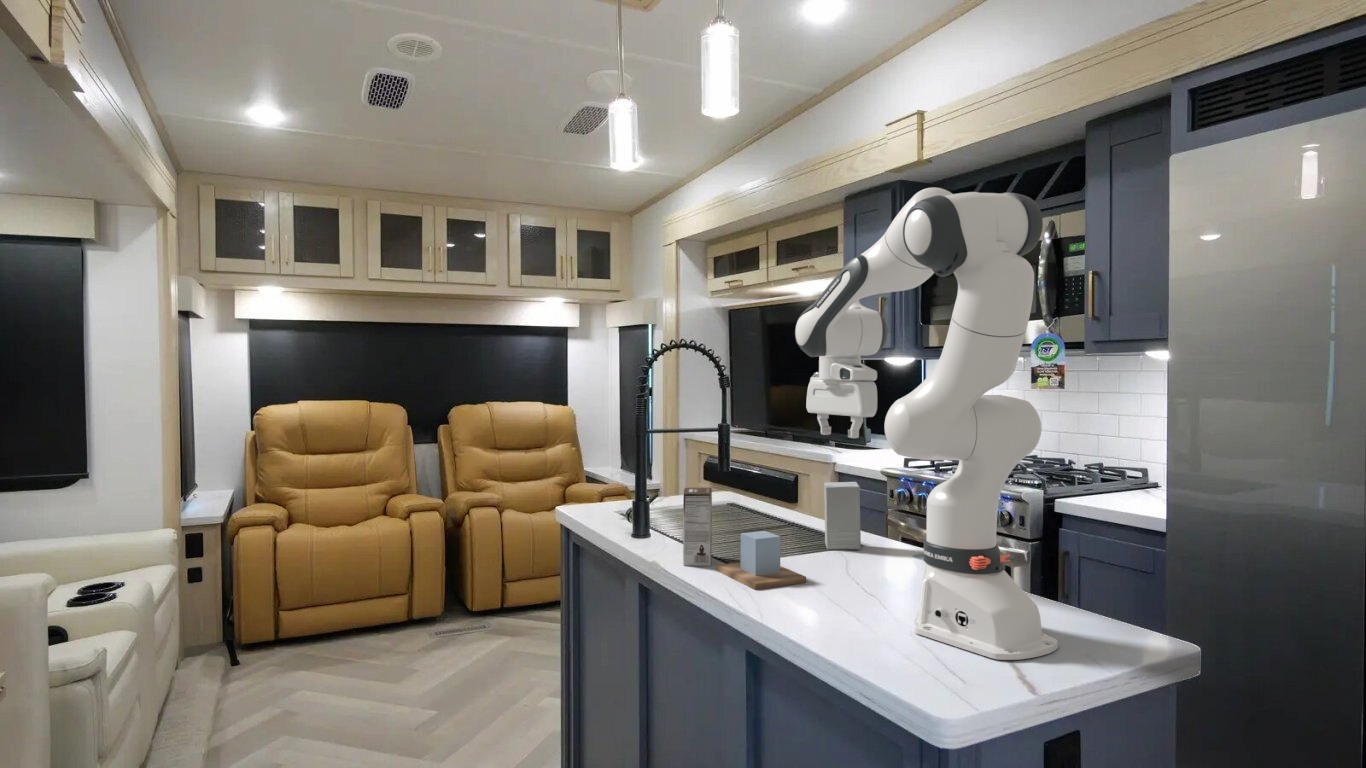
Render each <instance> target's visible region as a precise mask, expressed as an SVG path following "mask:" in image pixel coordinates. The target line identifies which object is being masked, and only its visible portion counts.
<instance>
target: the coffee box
mask: <svg viewBox="0 0 1366 768" xmlns="http://www.w3.org/2000/svg"><path fill="white" fill-rule="evenodd" d="M712 492H713V491H712V487H684V489H683V500H682V501H683V512H682V513H683V514H682V515H683V517H682V518H683V520H682V521H683V522H682V523H683V525H682V526H683V527H682V530H683V533H682V534H683V536H682V539H683V542H682V545H683V546H682V547H683V548H682V549H683V551H682V553H683V555H682V557H683V560H682V561H683V562H682V563H683V566H684V567H686V566H687V567H688V566H689V567H692V566H693V567H701V566H702V567H711V566H712V543H713V538H712V536H713V534H712V533H713V531H712V530H713V529H712V528H713V525H712V524H713V513H712V512H713V511H712V510H713V493H712Z"/></svg>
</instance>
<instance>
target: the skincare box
mask: <svg viewBox="0 0 1366 768" xmlns="http://www.w3.org/2000/svg"><path fill="white" fill-rule="evenodd" d="M860 491H861V486H860V485H859V484H858V482H857V481H842V482H841V481H840V482H839V481H836V482H835V481H831V482H829V481H828V482H827V481H826V482H825V481H824V483H823V500H824V501H823V502H824V503H823V504H824V543H825V546H826V549H827V550H861V548H862V547H861V545H862V544H861V543H862V539H861V537H862V536H861V496H860V495H861V492H860Z"/></svg>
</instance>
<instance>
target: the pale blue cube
mask: <svg viewBox="0 0 1366 768" xmlns="http://www.w3.org/2000/svg"><path fill="white" fill-rule="evenodd" d="M740 562H741V566H740V569H742V570H744V571H746V572H748V573H750V574H753V575H755V576H758V575H766V574H773V573H780V566H781V536H780V535H778V534H775V533H772V532H769V531H766V530H761V531H753V532H750V531H749V532H742V533H740Z"/></svg>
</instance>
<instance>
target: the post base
mask: <svg viewBox="0 0 1366 768" xmlns="http://www.w3.org/2000/svg"><path fill="white" fill-rule="evenodd" d="M740 566H741V561H737V562H729V563H722V564H716V571H717V572H719V573H721V574H722V575H725V576H727V577H729V578H731V579H732V580H735V581H736V582H739V583H741V584H743V585H745V586H747V587H749V588H750V589H753V590H757V589H758V590H762V589H763V590H764V588H765V589H770V588H771V587H772V588H777V587H778V586H779V587H783V586H790V585H792V586H793V585H798V584H805V583H807V576H805V575H802V574H801V573H798V572H796V571H793V570H792V569H789V568H786V567H784V566H782V565H780V573H773V574H766V575H758V576H755V575H753V574H750V573H748V572H746V571H744V570H742V569H740ZM779 587H778V588H779Z"/></svg>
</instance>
